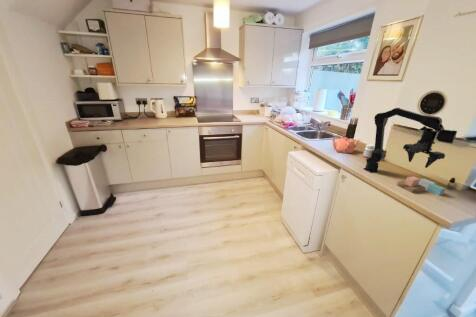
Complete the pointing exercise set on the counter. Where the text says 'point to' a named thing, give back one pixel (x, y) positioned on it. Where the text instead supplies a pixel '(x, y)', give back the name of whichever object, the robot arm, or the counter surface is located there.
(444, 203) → the counter surface
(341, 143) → the pot
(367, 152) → the pill bottle
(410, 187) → the walnut slab
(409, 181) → the terracotta brick
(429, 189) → the teal brick
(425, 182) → the grey brick
